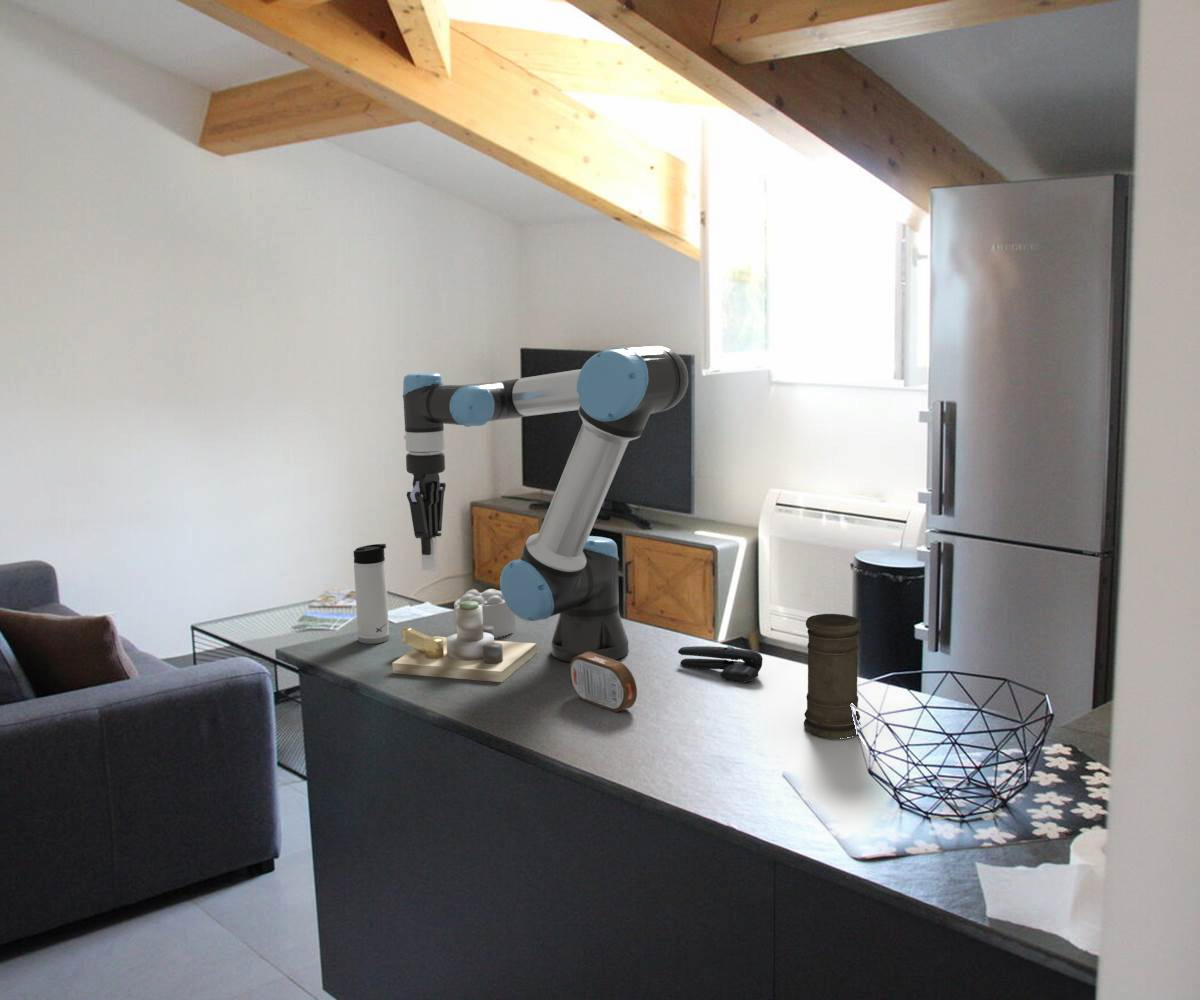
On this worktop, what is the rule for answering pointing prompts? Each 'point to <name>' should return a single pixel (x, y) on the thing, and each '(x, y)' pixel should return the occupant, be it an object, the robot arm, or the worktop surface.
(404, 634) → the brass ball lever
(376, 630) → the travel mug
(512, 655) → the base
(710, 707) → the worktop surface
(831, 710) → the container
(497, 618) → the paw-shaped mold
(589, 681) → the tin
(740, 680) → the can opener
